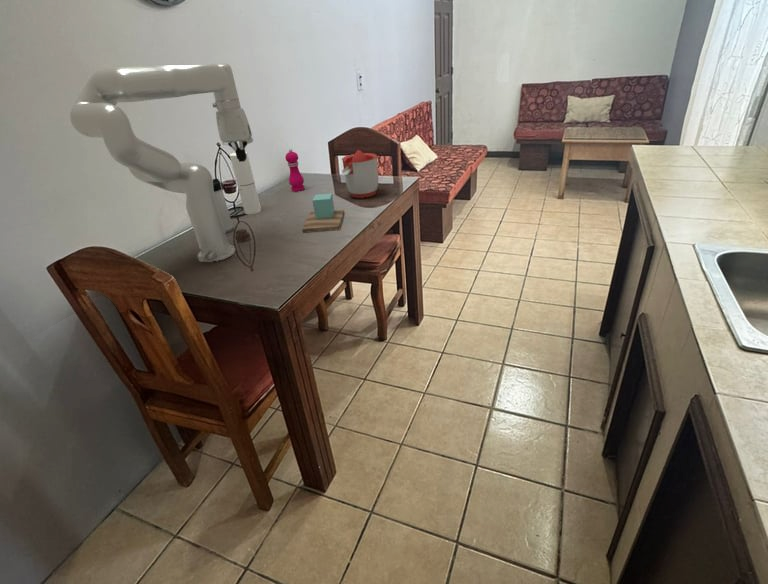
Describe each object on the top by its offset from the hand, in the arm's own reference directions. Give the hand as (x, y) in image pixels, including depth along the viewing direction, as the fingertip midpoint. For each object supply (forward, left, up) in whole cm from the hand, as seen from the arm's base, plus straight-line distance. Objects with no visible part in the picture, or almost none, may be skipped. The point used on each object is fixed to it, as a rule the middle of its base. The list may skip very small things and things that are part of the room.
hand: (242, 160), depth 151 cm
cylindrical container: (+24, +10, -27) cm, 38 cm away
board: (+4, -25, -27) cm, 37 cm away
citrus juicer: (+35, -38, -27) cm, 58 cm away
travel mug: (+3, +15, -27) cm, 31 cm away
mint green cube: (+8, -25, -26) cm, 37 cm away
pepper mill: (+51, -5, -27) cm, 58 cm away
